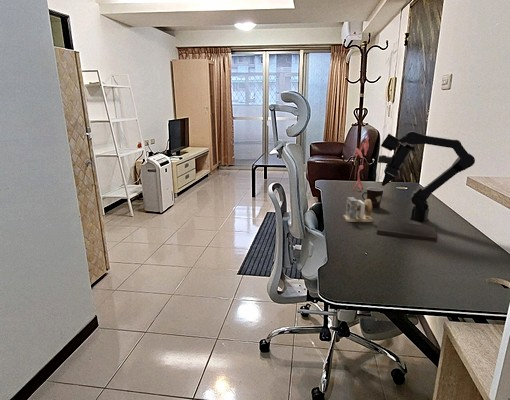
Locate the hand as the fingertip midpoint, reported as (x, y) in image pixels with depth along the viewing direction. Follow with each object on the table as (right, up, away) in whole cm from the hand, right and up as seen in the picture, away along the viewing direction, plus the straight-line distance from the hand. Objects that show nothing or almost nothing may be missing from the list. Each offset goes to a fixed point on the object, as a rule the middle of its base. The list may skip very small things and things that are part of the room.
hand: (382, 183), depth 173 cm
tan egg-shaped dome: (-13, -15, -4) cm, 20 cm away
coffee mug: (0, -12, +19) cm, 23 cm away
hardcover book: (+3, -23, -20) cm, 30 cm away
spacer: (-13, -16, -4) cm, 20 cm away
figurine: (+9, -1, +61) cm, 61 cm away
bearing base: (-14, -17, -3) cm, 22 cm away
